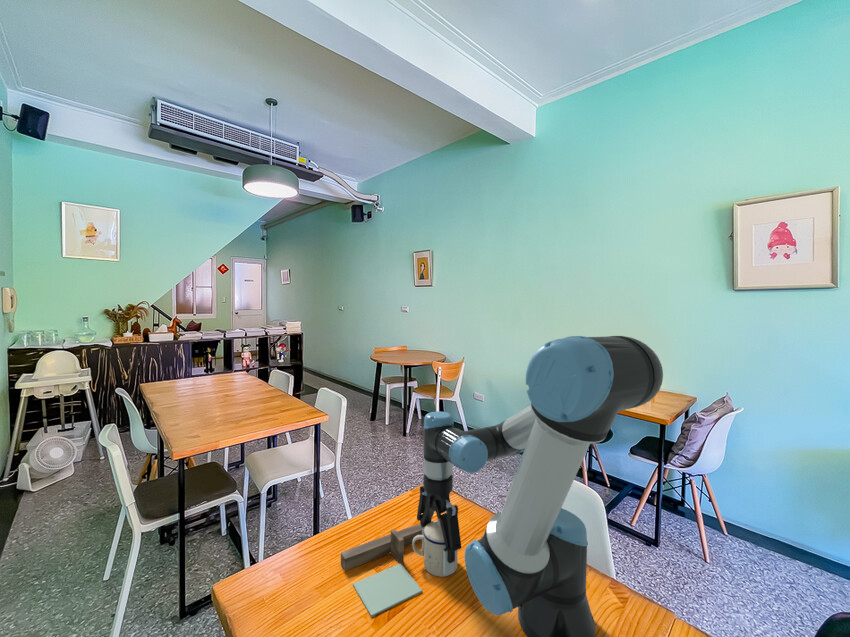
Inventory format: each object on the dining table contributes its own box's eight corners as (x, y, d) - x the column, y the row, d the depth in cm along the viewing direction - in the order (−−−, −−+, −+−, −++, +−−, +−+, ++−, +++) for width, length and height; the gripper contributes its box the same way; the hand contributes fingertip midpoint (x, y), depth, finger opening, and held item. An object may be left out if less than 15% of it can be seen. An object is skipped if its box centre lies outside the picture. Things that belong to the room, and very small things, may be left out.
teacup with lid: (458, 554, 95) (458, 511, 95) (458, 579, 86) (459, 532, 86) (413, 551, 96) (414, 509, 96) (409, 576, 87) (410, 529, 87)
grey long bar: (443, 545, 99) (443, 523, 99) (352, 583, 84) (352, 558, 84) (427, 530, 106) (428, 510, 106) (340, 563, 91) (340, 540, 91)
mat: (422, 591, 82) (422, 590, 82) (371, 617, 75) (371, 615, 75) (400, 564, 91) (400, 563, 91) (352, 585, 84) (352, 583, 84)
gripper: (477, 487, 83) (476, 582, 83) (427, 456, 101) (426, 534, 101) (452, 496, 79) (451, 596, 79) (404, 462, 97) (403, 543, 97)
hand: (437, 561), depth 90 cm, fingers closed on teacup with lid, 9 cm apart
